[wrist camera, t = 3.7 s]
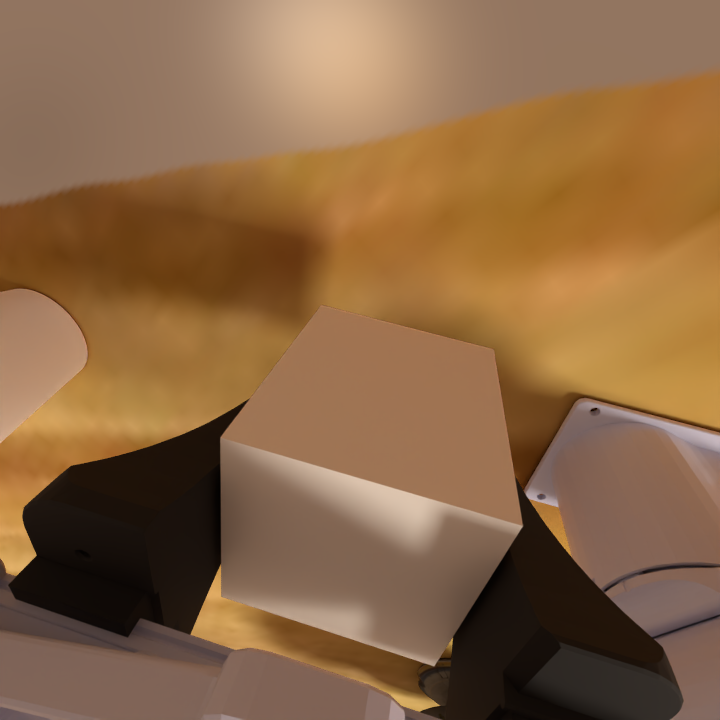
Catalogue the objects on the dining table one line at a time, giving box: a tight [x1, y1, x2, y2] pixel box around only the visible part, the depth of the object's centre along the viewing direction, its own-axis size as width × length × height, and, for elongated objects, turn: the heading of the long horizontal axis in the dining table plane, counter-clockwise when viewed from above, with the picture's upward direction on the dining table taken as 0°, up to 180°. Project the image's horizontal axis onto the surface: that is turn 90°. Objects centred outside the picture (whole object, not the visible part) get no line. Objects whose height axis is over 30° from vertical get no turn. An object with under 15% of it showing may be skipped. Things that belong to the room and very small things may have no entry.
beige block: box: [220, 305, 523, 666], centre depth 12 cm, size 6×6×7 cm
